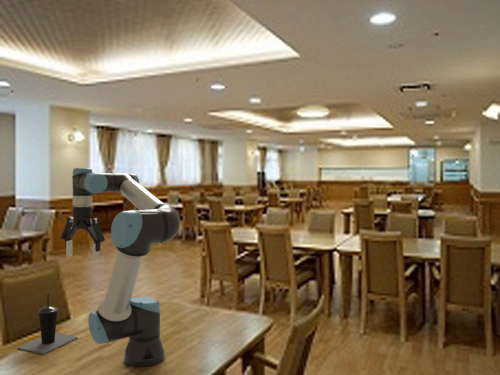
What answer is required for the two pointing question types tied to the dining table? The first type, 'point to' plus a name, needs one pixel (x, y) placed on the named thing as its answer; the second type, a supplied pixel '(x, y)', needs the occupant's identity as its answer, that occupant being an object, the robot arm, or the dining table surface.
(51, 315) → the drinking cup
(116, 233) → the robot arm
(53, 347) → the placemat
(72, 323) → the dining table surface
